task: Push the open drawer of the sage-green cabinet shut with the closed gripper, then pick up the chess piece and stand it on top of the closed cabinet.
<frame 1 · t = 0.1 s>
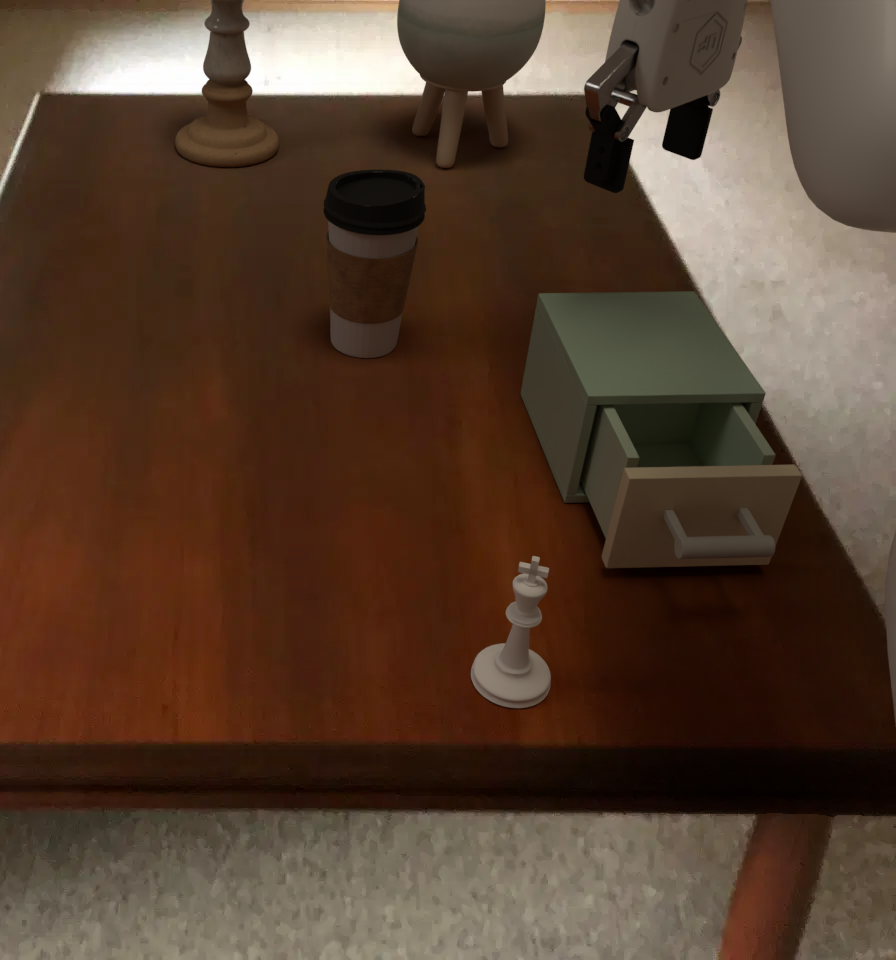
hand: (642, 169, 89), 19 cm above the table, tool pointing down, fingers open, 9 cm apart
drawer: (678, 480, 82), point 5 cm above the table, slide at 7.0 cm
candle holder: (227, 149, 140), on the table
coffee cup: (363, 343, 106), on the table
cabinet: (619, 444, 94), on the table
chess piece: (509, 680, 74), on the table
planter: (453, 151, 141), on the table
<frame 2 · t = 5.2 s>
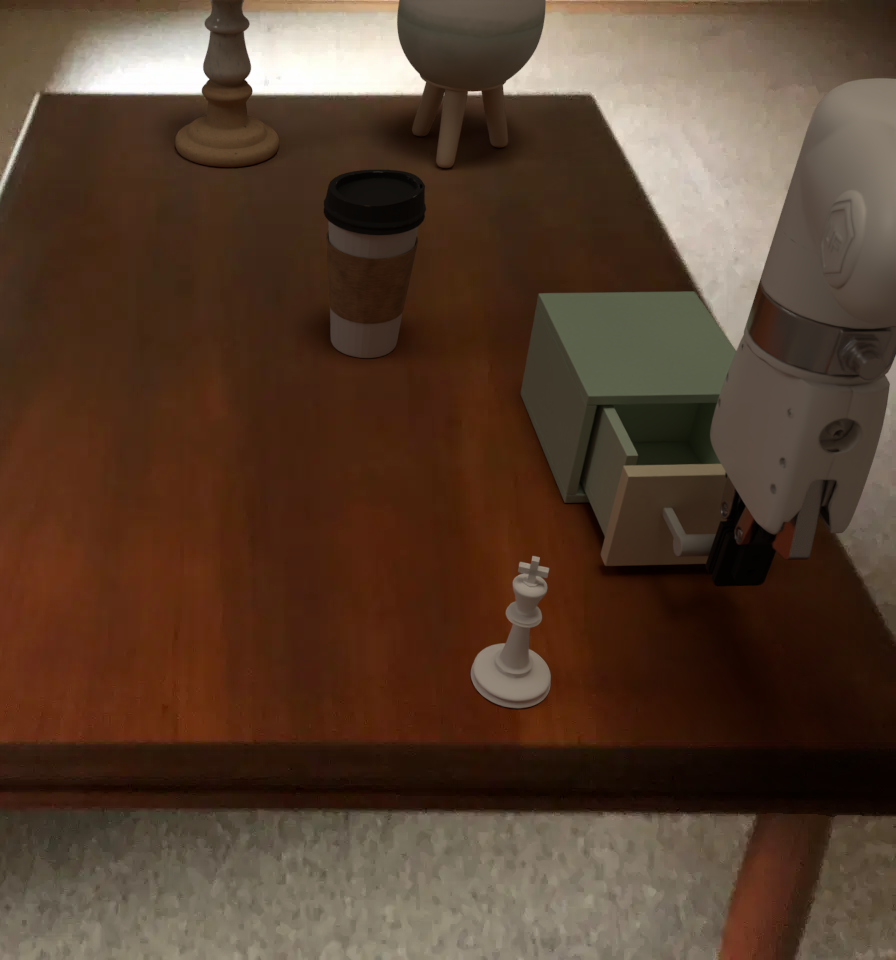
hand: (733, 576, 74), 5 cm above the table, tool pointing down, fingers closed
drawer: (677, 478, 82), point 5 cm above the table, slide at 6.8 cm, touching gripper
everything else where it was.
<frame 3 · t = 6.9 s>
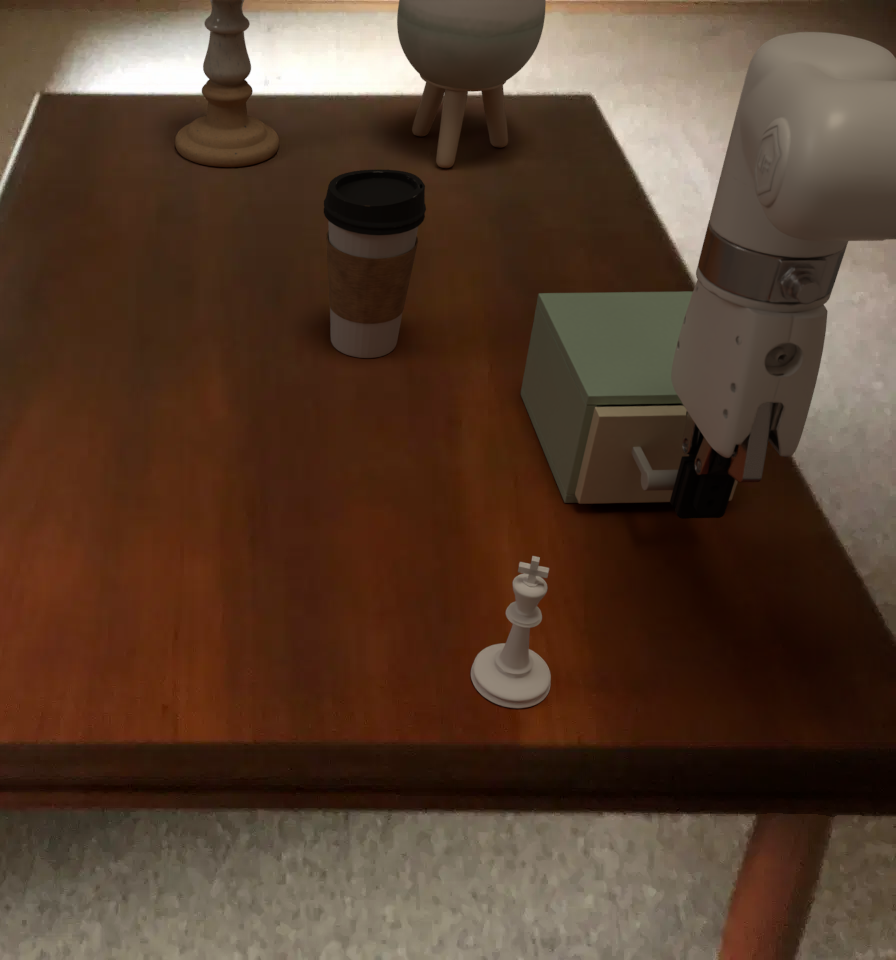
hand: (696, 510, 79), 5 cm above the table, tool pointing down, fingers closed
drawer: (647, 422, 88), point 5 cm above the table, slide at 0.0 cm, touching cabinet, gripper
everything else where it was.
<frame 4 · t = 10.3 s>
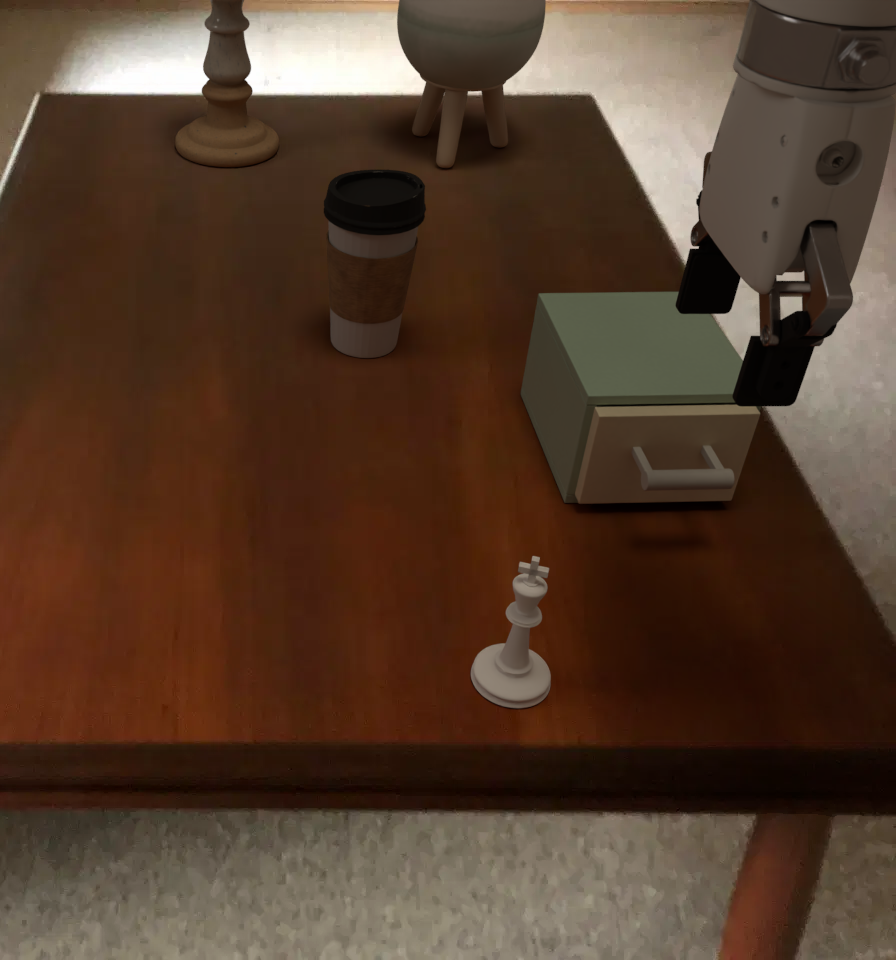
hand: (730, 354, 66), 20 cm above the table, tool pointing down, fingers open, 9 cm apart
drawer: (647, 422, 88), point 5 cm above the table, slide at 0.0 cm, touching cabinet
everything else where it was.
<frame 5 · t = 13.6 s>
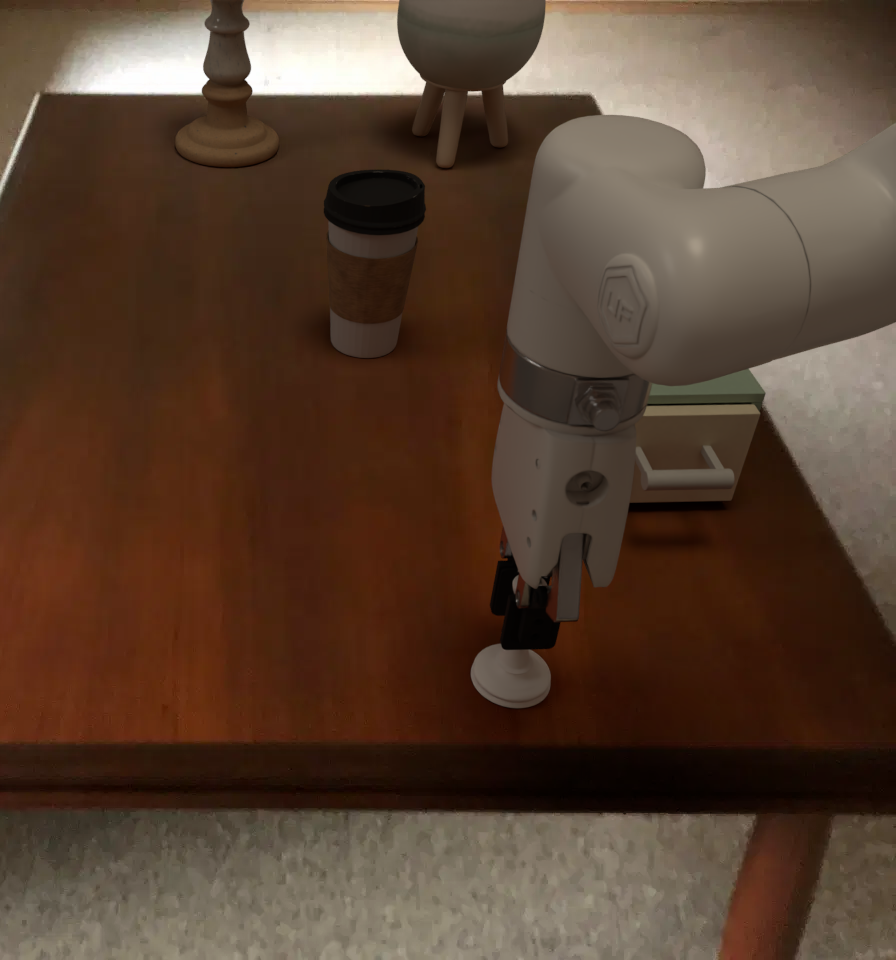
hand: (521, 626, 71), 5 cm above the table, tool pointing down, fingers closed on chess piece
chess piece: (509, 680, 74), on the table, touching gripper
everything else where it was.
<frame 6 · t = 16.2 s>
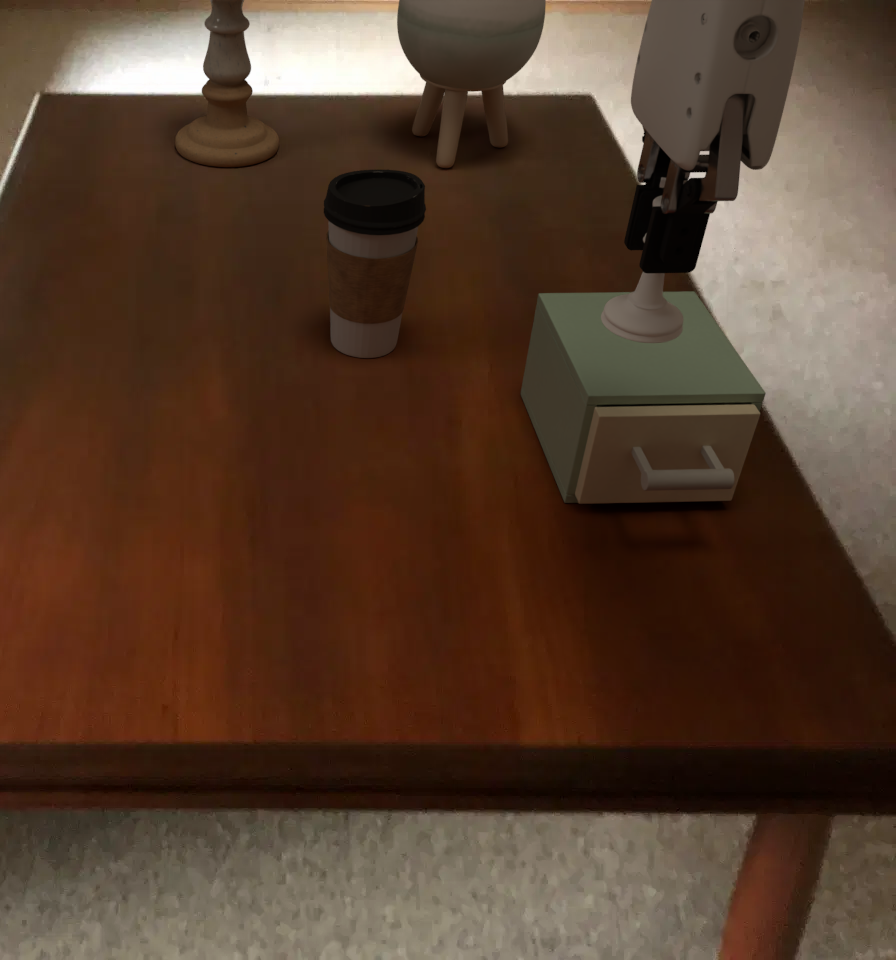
hand: (658, 257, 70), 22 cm above the table, tool pointing down, fingers closed on chess piece
chess piece: (640, 325, 73), point 18 cm above the table, touching gripper
everything else where it was.
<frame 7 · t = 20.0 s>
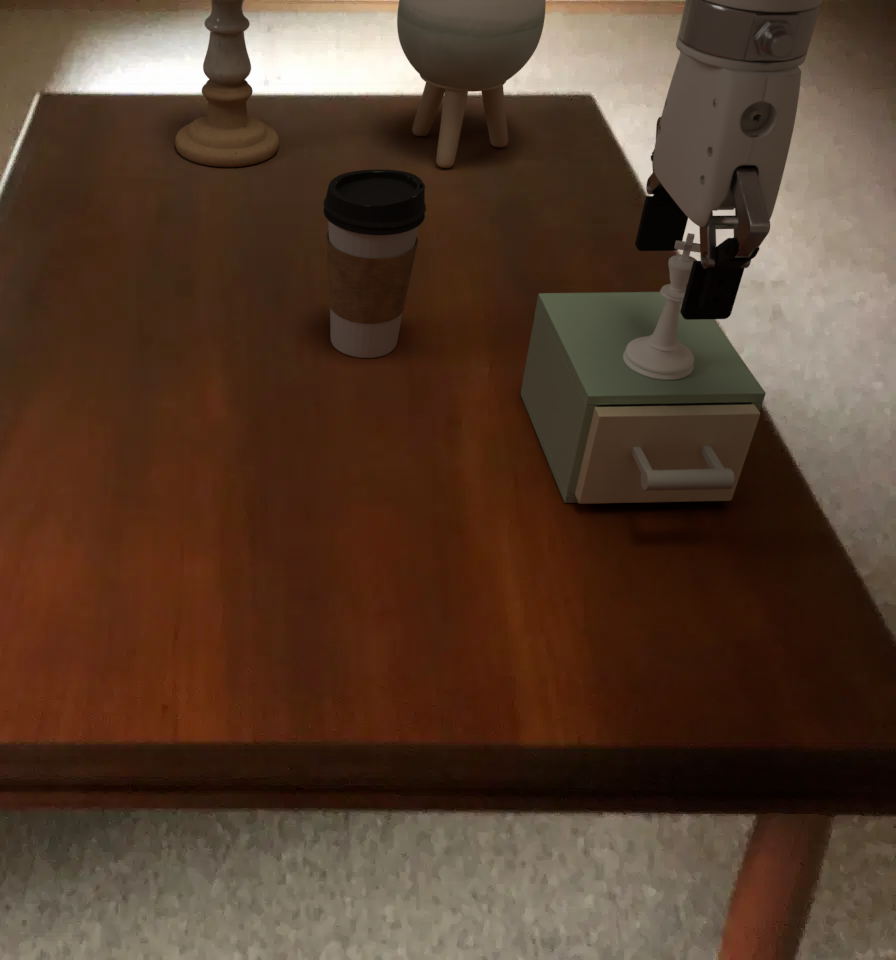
hand: (679, 281, 81), 16 cm above the table, tool pointing down, fingers open, 9 cm apart
chess piece: (657, 364, 85), point 9 cm above the table, touching cabinet
everything else where it was.
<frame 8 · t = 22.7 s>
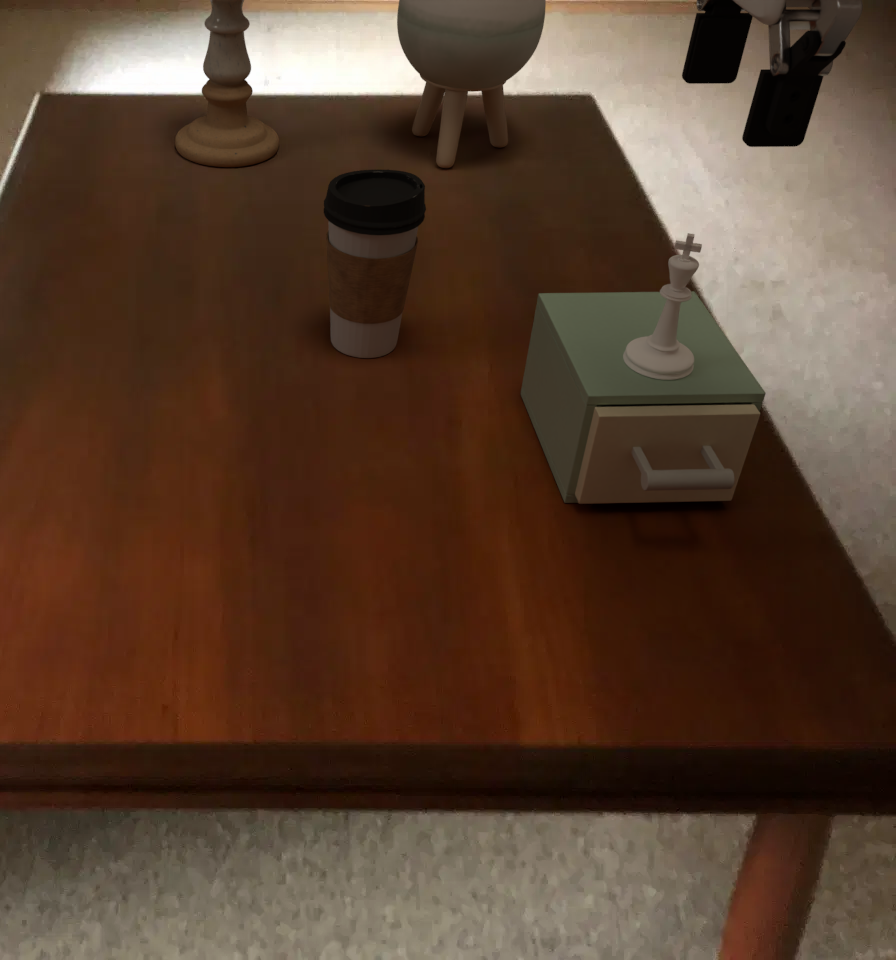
hand: (737, 111, 68), 30 cm above the table, tool pointing down, fingers open, 9 cm apart
nothing on the table moved.
at the end: drawer slide at 0.0 cm; chess piece inside the target area on the cabinet (3.1 cm from its centre), point 9.4 cm above the cabinet's base; chess piece tilted 0° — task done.
